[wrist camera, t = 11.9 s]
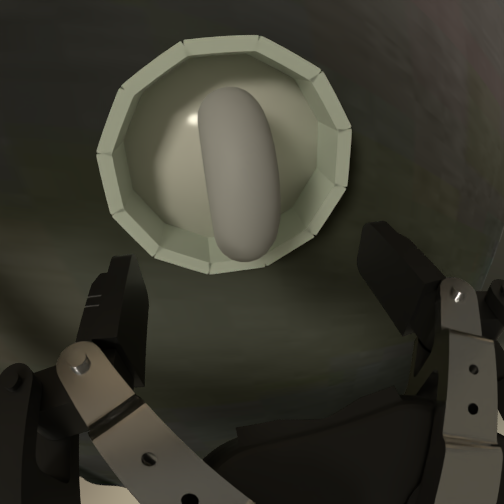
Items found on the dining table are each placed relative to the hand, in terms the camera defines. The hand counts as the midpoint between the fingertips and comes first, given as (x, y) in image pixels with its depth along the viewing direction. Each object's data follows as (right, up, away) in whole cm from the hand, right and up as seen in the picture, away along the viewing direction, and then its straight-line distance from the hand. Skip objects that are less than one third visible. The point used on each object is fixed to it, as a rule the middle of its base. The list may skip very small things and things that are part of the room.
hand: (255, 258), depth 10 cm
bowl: (-2, +8, +11) cm, 14 cm away
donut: (-2, +8, +11) cm, 13 cm away
